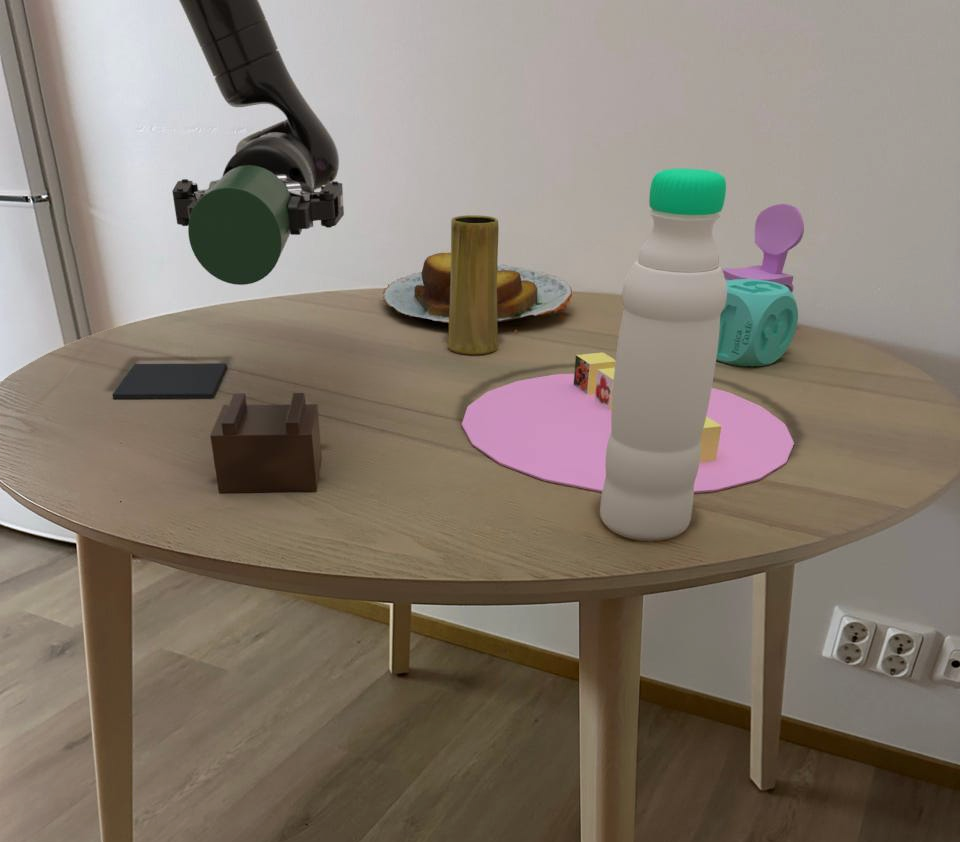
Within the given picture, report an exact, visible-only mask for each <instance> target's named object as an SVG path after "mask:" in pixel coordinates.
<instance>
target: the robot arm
mask: <svg viewBox="0 0 960 842" xmlns="http://www.w3.org/2000/svg"><path fill="white" fill-rule="evenodd" d="M178 1H179V3H180V5H181V8H182V9H183V11H184V13H185V15H186V18H187V20H188V22H189V24H190V27H191V30H192V31H193V33H194V35H195V38H196V40H197V43H198V45H199V47H200V49H201V52H202V54H203V56H204V58H205V61H206V63H207V65H208V67H209V70H210V71H211V73H212V76H213V77H214V81H215V83H216V86H217V87H218V90H219V91H220V94H221V95H222V97H223V99H224V101H225V102H226V103H227V105H229V106H231V107H233V108H246V107H251V106H252V107H253V106H258V105H269V106H273V107H275V108H276V109H278V110H279V111H280V112H281V113H282V114H283V115H284V116H285V117H286V119H284V120H282V121H280V122H277V123H275V124H273V125H271V126H268V127H265V128H264V129H262V130H258V131H256V132H254V133H251V134H250V135H247V136H245V137H244V138H241V140H240V141H238V143H237V145H236V148H235V154H234V155H233V156H232V157H231V158H230V159H229V160H228V162H227V164H226V165H225V168H224V170H223V174H222V177H223V176H224V175H225V174H226V173H227V172H229V171H230V170H232V169H234V168H237V167H240V166H246V165H252V166H258V167H262V168H264V169H266V170H268V171H270V172H272V173H273V174H275V175H276V176H277V177H278V178H279V179H280V180H281V181H282V182H283V183H284V184H285V186H286V187H287V189H288V191H289V193H290V195H291V197H292V198H291V200H290V202H289V204H288V212H289V219H290V236H291V235H292V236H298V235H299V236H300V235H301V233H302V231H303V230H309V229H310V228H314V222H316V221H320V226H322V227H325V228H328V229H329V228H333V227H336V226H337V225H338V223H339V222H340V221H341V219H342V218H343V217H344V215H345V208H344V207H345V206H344V191H343V189H344V188H343V183H342V182H339V181H335V180H336V178H337V177H338V176H337V175H338V174H339V169H340V157H339V152H338V148H337V145H336V142H335V141H334V139H333V137H332V136H331V134H330V133H329V131H328V129H327V128H326V127H325V125H324V124H323V122H322V121H321V119H320V118H319V117H318V115H317V114H316V113H315V112H314V110H313V109H312V107H311V106H310V105H309V103H308V102H307V100H306V98H305V97H304V96H303V94H302V92H301V91H300V89H299V88H298V86H297V85H296V83H295V81H294V80H293V78H292V76H291V74H290V72H289V70H288V68H287V66H286V65H285V61H284V60H283V57H282V55H281V53H280V51H279V50H278V49H279V48H278V46H277V43H276V40H275V37H274V36H273V33H272V31H271V28H270V25H269V23H268V20H267V19H266V15H265V13H264V11H263V9H262V7H261V4H260V2H259V0H178ZM222 177H221V178H222ZM219 180H220V179H216V180H211V181H210V182H209V185H208V188H206V189H199V186H198V183H197V182H193V180H189V179H187V178H183V179H181V180H177V182H176V184H175V185H174V187H173V189H172V191H171V192H172V198H173V199H172V200H173V205H174V212H175V219H176V224H177V225H179V226H182V227H188V224H189V218H190V215H191V212H192V210H193V208H194V206H195V205H196V203H197V202H198V201H199V200H200V199H201V198H202V197H203V196H204V195H205V194H206V193H207V192H208V191H209V190H210V189H211V188H212V187H213V186H214V185H215V184H216V183H217V182H218V181H219ZM319 189H320V191H316V190H319Z"/></svg>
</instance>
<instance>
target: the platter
mask: <svg viewBox="0 0 960 842" xmlns="http://www.w3.org/2000/svg"><path fill="white" fill-rule="evenodd" d="M615 361H616V359H614V358H613V357H611V356H609V355H608V354H606V353H605V352H602V351H601V352H593V353H582V354H575V361H574V362H575V363H574V372H573V373H556V374H555V373H554V374H549V375H544V376H538V377H533V378H526V379H521V380H515V381H514V382H510V383H508V384H505V385H502V386H499V387H496V388H493V389H490V390H488V391H486V392H485V393H483V394H482V395H481V396H480V397H478V398H477V399H475V400H474V401H473V402H472V403H470V404H468V405H467V407H466V410H465V413H464V416H463V419H462V422H461V427H462V429H463V431H464V433H465V434H466V437H467V438H468V440H469V442H470V444H471V446H473V448H475V449H477V450H479V451H480V452H481V453H483V454H484V455H486V456H487V457H488V458H490V459H491V460H493V461H494V462H495V463H497V464H499V465H500V466H503V467H506V468H509V469H511V470H514V471H517V472H520V473H522V474H525V475H528V476H530V477H533V478H535V479H538V480H542V481H544V482H549V483H553V484H559V485H564V486H567V487H573V488H579V489H583V490H588V491H593V492H599V493H602V490H603V485H604V481H605V478H606V467H605V461H606V450H607V444H608V440H609V437H610V434H611V408H612V392H613V381H614V370H615ZM700 444H701V455H700V463H699V468H698V473H697V476H696V479H695V482H694V494H699V493H701V494H702V493H712V492H713V493H714V492H719V491H723V490H727V489H730V488H735V487H738V486H742V485H746V484H749V483H754V482H757V481H760V480H762V479H763V478H765V477H767V476H769V475H770V474H772V473H773V472H775V471H776V470H778V469H780V468H781V467H784V466H785V465H786V464H787V462H788V459H789V458H790V454H791V453H792V450H793V447H794V446H793V445H795V442H794V439H793V438H792V436H791V433H790V432H789V429H788V427H787V425H786V424H785V423H784V422H783V421H782V420H780V419H779V418H778V417H776V416H775V415H774V414H773V413H772V412H769V410H768V409H766V408H765V407H763V406H762V405H759V404H757V403H755V402H752V401H750V400H747V399H745V398H743V397H741V396H739V395H736V394H734V393H732V392H729V391H725V390H721V389H718V388H715V387H712V389H711V395H710V400H709V406H708V410H707V415H706V420H705V424H704V428H703V431H702V435H701V438H700Z"/></svg>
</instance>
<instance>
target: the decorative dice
mask: <svg viewBox="0 0 960 842" xmlns="http://www.w3.org/2000/svg"><path fill="white" fill-rule="evenodd" d="M726 285H727V299H726V303H725V307H724V309H723V311H722V312H721V314H720V329H719V340H718V349H717V357H716V362H720V363H723V364H726V363H727V364H726V365H731V366H736V365H737V366H739V367H747V366H751V368H752V367H754V366H757V367H765V366H770V365H772V364H773V363H775V362H776V361H778V360H779V359H780V358H781V357H782V356H784V354H785V353H786V352H787V350H788V348H789V347H790V345H791V344H792V341H793V339H794V336H795V335H796V334H795V333H796V330H797V327H798V321H799V309H798V305H797V301H796V299H795V297H794V294H793V292H792V293H791V291H790V290H789V288H788V287H786V286H784V285H782V284H779V283H775V282H771V281H765V280H755V279H734V280H728V281H726ZM754 368H755V367H754Z"/></svg>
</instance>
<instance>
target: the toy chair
mask: <svg viewBox="0 0 960 842" xmlns="http://www.w3.org/2000/svg"><path fill="white" fill-rule="evenodd" d="M804 222H805V221H804V219H803V216H802V213H801V211H800V210H799V208H798V207H796V206H795V205H792V204H789V203H777V204H774V205H771V206H768V207H765V209H763V210H762V211H760V213H759V214H758V215H757V217H756V220H755V225H754V244H755V245H756V246H757V247H758V248H759V249H760V250H761V251H762V253H763V257H762V264H761V265H750V266H746V267H738V268H737V267H735V268H733V267H732V268H731V267H730V268H729V267H728V268H727V267H725V268H722V270H723V274H724V277H725V281H728V280H734V279H755V280H765V281H771V282H775V283H779V284H782V285H784V286H786V287H788V288H789V290H790V291H791V293H792V294H793V293H794V285H793V281H794V275H792V274H788V273H784V272H783V270H784V267H785V263H786V260H787V256H788V253H789V251H790V250H792V249H794V248H795V247H797V246H798V245H799V243H800V242H801V241H802V240H803V237H804V233H805V223H804Z"/></svg>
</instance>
